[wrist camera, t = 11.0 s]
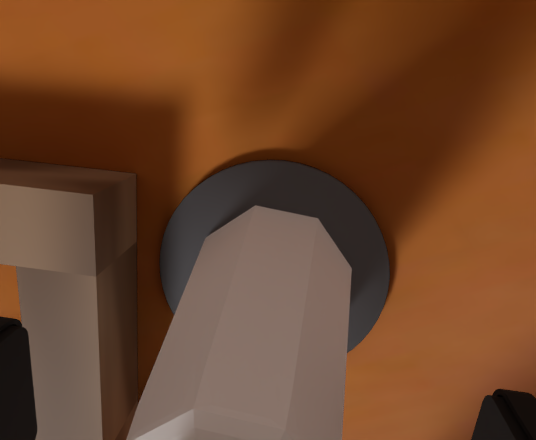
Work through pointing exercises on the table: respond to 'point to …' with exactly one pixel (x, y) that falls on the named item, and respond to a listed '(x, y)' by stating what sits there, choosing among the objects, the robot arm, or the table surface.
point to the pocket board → (75, 293)
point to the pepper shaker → (255, 338)
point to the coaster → (289, 200)
